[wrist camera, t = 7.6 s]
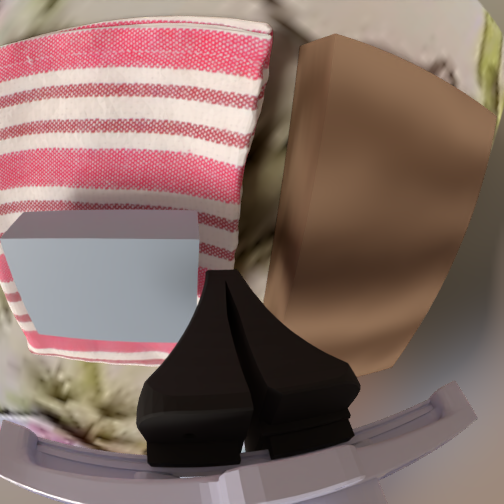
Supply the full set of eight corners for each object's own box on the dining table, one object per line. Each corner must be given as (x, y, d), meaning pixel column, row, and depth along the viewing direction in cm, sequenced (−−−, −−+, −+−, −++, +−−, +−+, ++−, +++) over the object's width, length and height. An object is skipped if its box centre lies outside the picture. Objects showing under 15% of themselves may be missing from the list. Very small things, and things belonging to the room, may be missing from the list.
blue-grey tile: (193, 307, 15) (196, 342, 13) (50, 302, 13) (38, 334, 11) (197, 210, 12) (199, 239, 10) (23, 212, 10) (-1, 238, 8)
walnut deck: (373, 336, 25) (391, 367, 21) (254, 354, 22) (264, 394, 19) (454, 104, 13) (496, 116, 10) (299, 46, 11) (335, 33, 7)
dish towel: (271, 34, 11) (292, 18, 8) (220, 355, 23) (225, 389, 20) (-9, 56, 7) (-44, 58, 4) (39, 341, 19) (28, 371, 16)
